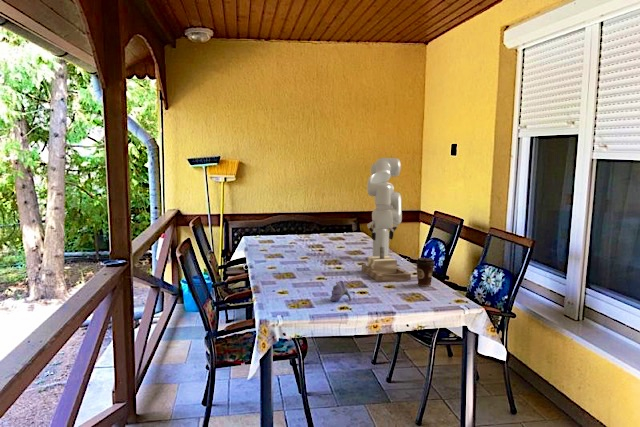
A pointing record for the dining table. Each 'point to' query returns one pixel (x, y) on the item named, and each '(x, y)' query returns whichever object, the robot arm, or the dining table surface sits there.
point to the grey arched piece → (339, 291)
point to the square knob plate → (382, 263)
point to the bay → (387, 275)
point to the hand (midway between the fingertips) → (382, 239)
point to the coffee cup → (424, 271)
